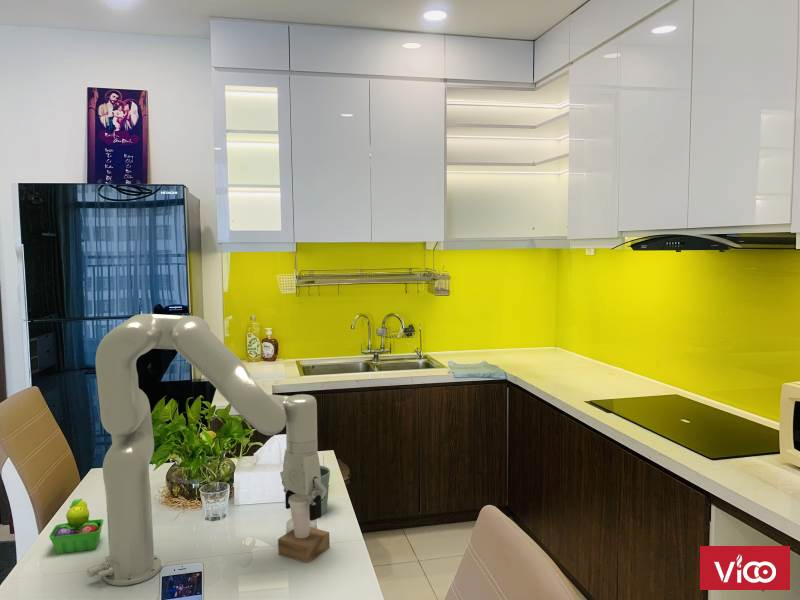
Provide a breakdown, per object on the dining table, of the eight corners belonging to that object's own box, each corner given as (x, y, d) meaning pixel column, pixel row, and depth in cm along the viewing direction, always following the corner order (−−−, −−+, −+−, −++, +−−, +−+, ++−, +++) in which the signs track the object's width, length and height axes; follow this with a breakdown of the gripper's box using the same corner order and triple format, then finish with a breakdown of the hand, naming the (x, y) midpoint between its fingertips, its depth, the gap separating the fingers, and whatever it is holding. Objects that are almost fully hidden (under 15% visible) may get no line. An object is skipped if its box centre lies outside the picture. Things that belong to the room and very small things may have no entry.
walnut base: (307, 563, 152) (307, 547, 152) (278, 554, 157) (278, 538, 156) (329, 547, 160) (329, 532, 160) (301, 539, 165) (300, 524, 164)
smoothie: (309, 542, 155) (308, 486, 153) (285, 539, 156) (283, 484, 155) (318, 530, 161) (317, 476, 160) (294, 528, 162) (293, 475, 161)
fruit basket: (49, 557, 156) (46, 513, 155) (58, 541, 165) (55, 499, 164) (99, 551, 159) (97, 507, 158) (106, 535, 168) (103, 494, 167)
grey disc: (298, 541, 163) (298, 532, 163) (280, 531, 169) (280, 522, 169) (323, 531, 169) (322, 522, 169) (304, 522, 175) (304, 513, 175)
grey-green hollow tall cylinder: (293, 506, 185) (292, 466, 184) (327, 502, 188) (326, 462, 187) (297, 521, 176) (296, 479, 174) (333, 516, 178) (332, 475, 177)
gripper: (268, 441, 159) (270, 507, 161) (311, 457, 147) (312, 528, 149) (293, 434, 165) (294, 498, 166) (336, 450, 153) (337, 518, 154)
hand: (303, 512), depth 158 cm, fingers open, 9 cm apart
